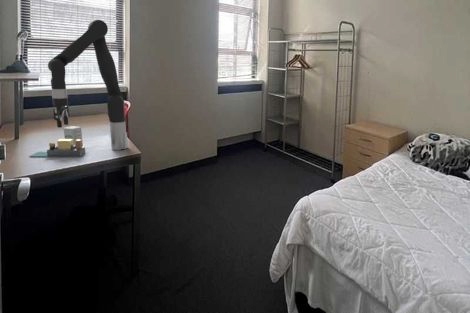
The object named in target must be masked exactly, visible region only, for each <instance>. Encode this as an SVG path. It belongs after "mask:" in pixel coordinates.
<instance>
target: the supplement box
mask: <svg viewBox="0 0 470 313" xmlns="http://www.w3.org/2000/svg"><path fill="white" fill-rule="evenodd" d="M63 135H64V139H73V144H74V145H76V142H75V141H76V140H77V139H82V147H84V143H83V133H82V126H77V125H76V126H74V125H70V126H66V127H63Z"/></svg>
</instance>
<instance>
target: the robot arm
mask: <svg viewBox="0 0 470 313" xmlns="http://www.w3.org/2000/svg"><path fill="white" fill-rule="evenodd" d="M87 27H88V28H87V30H86V31H85V32H83V33H82V35H80V36H79V37H78V38H77V39H75V40H74V41H72V42H71V43H70V44H68V45H67V46H66V47H64V49H63V50H62V51H61V52H60V53H59V54H57V55H55V56H54V57H53V58H51V59H50V60H49V61H48V63H47V68H48V70H49V71H50V74H51V78H50V86H51V98H52V105H53V107H55V108H53V109H52V110H53V120H54V121H56V125H57V128H62V127H63V125H66V126H67V125H69V117H70V108H69V99H68V91H67V85H66V66H68V65H69V64H71V63H72V62H74V61H75V60H76V59H77V58H78V57H79V56H81V55H82V54H83V52H84V51H86V49H88V48H89V47H90V46H91V45H93V48H94V52H95V53H94V54H95V57H96V61H97V67H98V70H99V73H100V76H101V79H102V81H103V83H104V84H105V88H106V91H107V97H108V99H107V102H106V105H107V116H108V122H109V133H110V144H111V150H113V151H122V150H121V149H125V150H127V149H128V148H127V147H129V142H128V132H127V128H126V127H127V126H126V115H125V106H124V105H125V100H124V97H123V94H122V91H121V88H120V85H119V78H118V72H117V68H116V64H115V61H114V58H113V55H112V53H111V51H110V50H109V48H108V46H107V41H106V35H107V34H108V31H109V29H108V28H109V27H108V25H107V23H106V22H105V21H104V20H102V19H96V20H93V21H91V22H89V24H88V26H87ZM62 118H63V124H62ZM126 148H127V149H126Z"/></svg>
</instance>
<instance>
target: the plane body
mask: <svg viewBox="0 0 470 313" xmlns="http://www.w3.org/2000/svg"><path fill="white" fill-rule="evenodd" d="M82 141H83V138H82V139H77V140H76V141H75V142H76V145H73V146H72V147H71V148H72V149H58V145H56V143H55V142H49V143H48V145H49V146H48V147H49V148H48V149H46V152H47V156H48V157H47V158H82V157H83V155H85V154H86V147H85V146H82Z"/></svg>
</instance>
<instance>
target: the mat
mask: <svg viewBox="0 0 470 313" xmlns="http://www.w3.org/2000/svg"><path fill="white" fill-rule="evenodd" d="M29 158H49V157H48V156H47V151H36V152H35V153H33V154H31V155H30V156H29Z"/></svg>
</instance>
